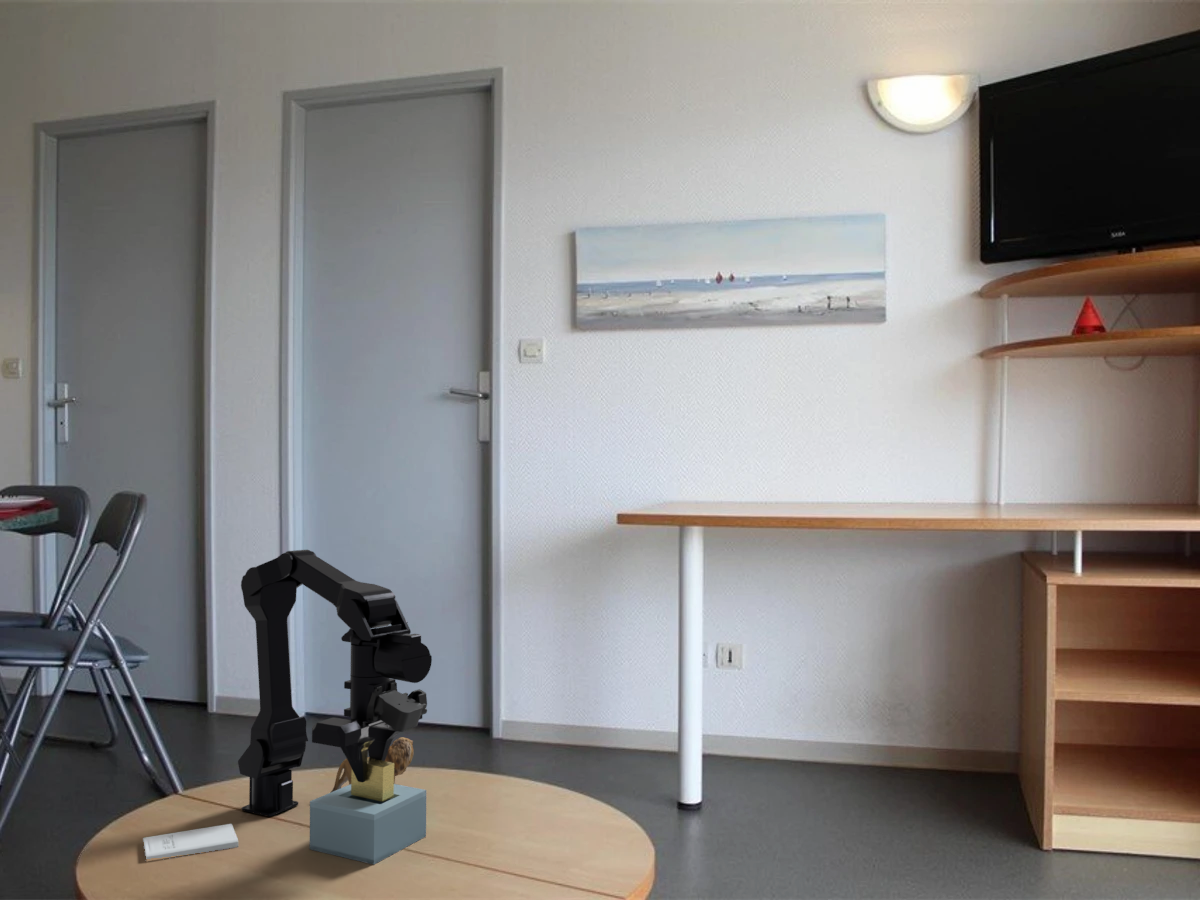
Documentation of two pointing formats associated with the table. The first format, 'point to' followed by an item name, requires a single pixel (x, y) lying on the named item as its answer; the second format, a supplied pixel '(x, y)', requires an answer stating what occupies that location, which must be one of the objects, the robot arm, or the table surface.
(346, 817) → the tissue box
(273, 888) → the table surface
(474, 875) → the table surface
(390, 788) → the yellow rectangular block
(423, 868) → the table surface
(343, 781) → the lion figurine
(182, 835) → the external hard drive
